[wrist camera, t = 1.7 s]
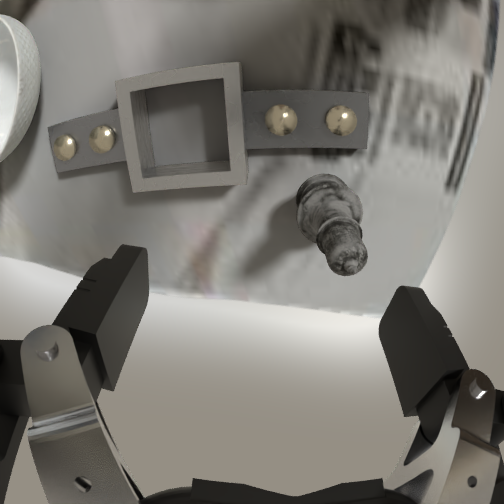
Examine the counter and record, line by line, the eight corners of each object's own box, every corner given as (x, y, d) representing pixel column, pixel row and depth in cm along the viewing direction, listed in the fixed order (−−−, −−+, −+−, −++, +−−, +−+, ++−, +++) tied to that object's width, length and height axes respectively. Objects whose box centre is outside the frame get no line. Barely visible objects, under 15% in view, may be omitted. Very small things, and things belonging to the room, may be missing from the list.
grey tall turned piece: (290, 174, 28) (305, 238, 18) (352, 168, 27) (400, 228, 17) (296, 230, 31) (310, 313, 21) (353, 223, 30) (391, 302, 20)
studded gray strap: (363, 65, 22) (376, 65, 19) (360, 170, 27) (372, 183, 24) (52, 102, 24) (31, 107, 21) (70, 189, 29) (53, 202, 26)
